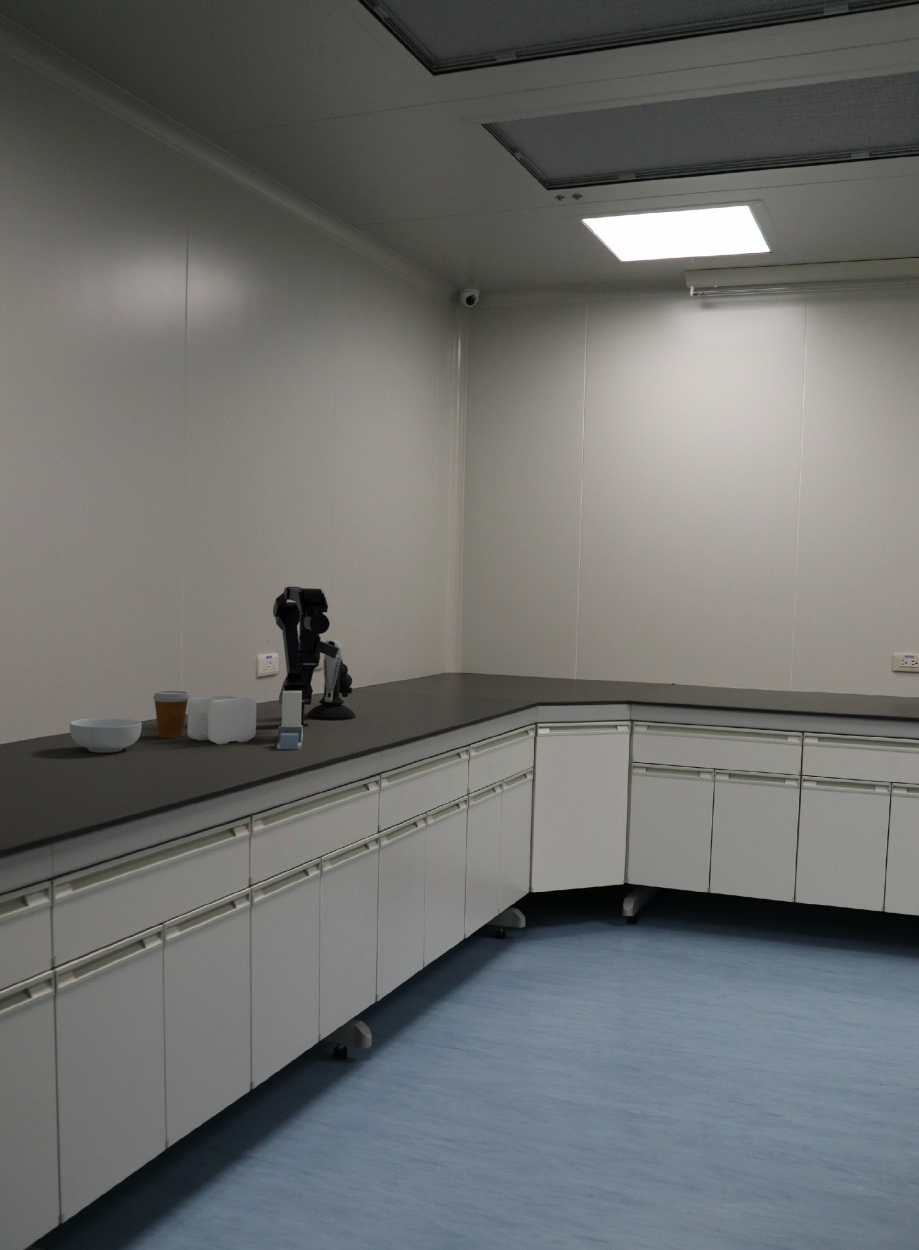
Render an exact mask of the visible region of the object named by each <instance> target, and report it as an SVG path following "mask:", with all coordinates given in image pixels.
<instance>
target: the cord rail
mask: <svg viewBox="0 0 919 1250" xmlns="http://www.w3.org/2000/svg"><path fill="white" fill-rule="evenodd" d="M303 727H304V726H303V725H301V726H282V724H281V725H280V726H279V725H278V727H277V728H278V731H277V733H278V734H277V744H276V749H277V750H301V749H302V744H303V738H304V732H303V731H304V730H303Z"/></svg>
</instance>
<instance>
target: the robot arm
mask: <svg viewBox="0 0 919 1250" xmlns="http://www.w3.org/2000/svg"><path fill="white" fill-rule="evenodd" d="M328 609H329V606H328V602H327V599H326V595H325V593H324V592H323V590H322V588H313V587H311V588H304V587H303V588H302V587H300V586H286V587H284V590H283V592H282V593H281V594H280V595H278V596H277V597H276V599H275V601H274V605H273V608H272V614H273V617H274V618H275V623H276V625H277V627H279V629H280V630H281V631H282V640H283V648H284V658H285V665H286V667H285V668H286V677H285V678H284V680H283V682H282V686H281V689H280V693H279V695H278V696H279V697H278V703H279V705H280V706H282V695H283V691H302V701H301V725H303V727H304V726H309V723H308V722H305V705H306V706H310V705H311V704H312V698H313V691H314V690H313V688H312V680H313V675H314V671H315V669H317V667H319V665H320V661H321V654H323V655H325V654H326V655H328V656H330V657H331V658H334V659H335V658H336V655H337V653H338V650H339V648H338V647H336V646H335V642H333V641H329V642H328V643H326V642H325V641H323V640H321V635H322V634H324V633H326V632H328V630H329V628H330V619H329V617H328V616H327V615H326V614H324V613H328ZM298 625H299V628H298ZM279 723H280V724H281V725H282V721H280V722H279Z"/></svg>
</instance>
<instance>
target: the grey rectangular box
mask: <svg viewBox="0 0 919 1250" xmlns="http://www.w3.org/2000/svg"><path fill="white" fill-rule="evenodd" d="M301 701H303V700H302V691H283V695H282V705H281V722H282V724H281V725H282V726H301Z"/></svg>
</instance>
